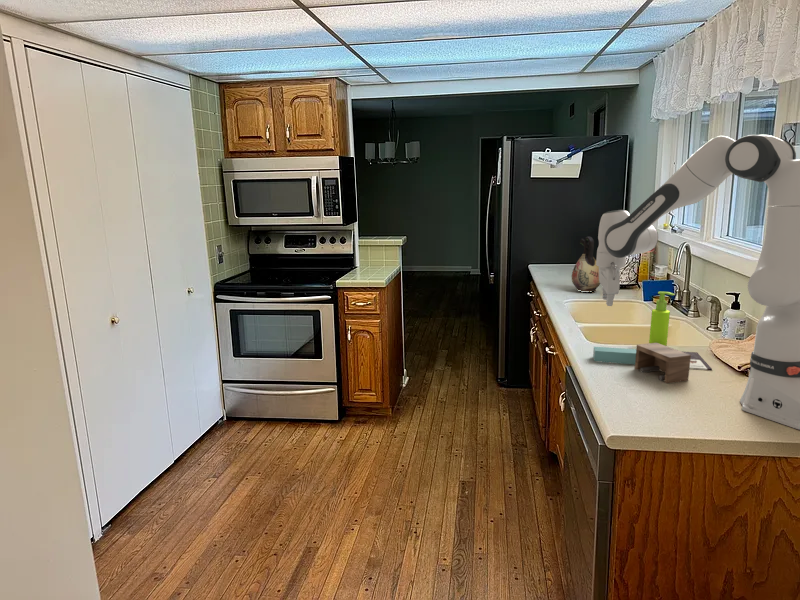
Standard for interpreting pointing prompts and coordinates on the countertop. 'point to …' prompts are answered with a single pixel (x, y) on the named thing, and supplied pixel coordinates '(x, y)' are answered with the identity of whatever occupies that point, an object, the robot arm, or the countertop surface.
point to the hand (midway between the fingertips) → (607, 302)
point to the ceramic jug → (586, 268)
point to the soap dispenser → (660, 321)
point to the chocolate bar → (697, 362)
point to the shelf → (663, 361)
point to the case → (614, 355)
